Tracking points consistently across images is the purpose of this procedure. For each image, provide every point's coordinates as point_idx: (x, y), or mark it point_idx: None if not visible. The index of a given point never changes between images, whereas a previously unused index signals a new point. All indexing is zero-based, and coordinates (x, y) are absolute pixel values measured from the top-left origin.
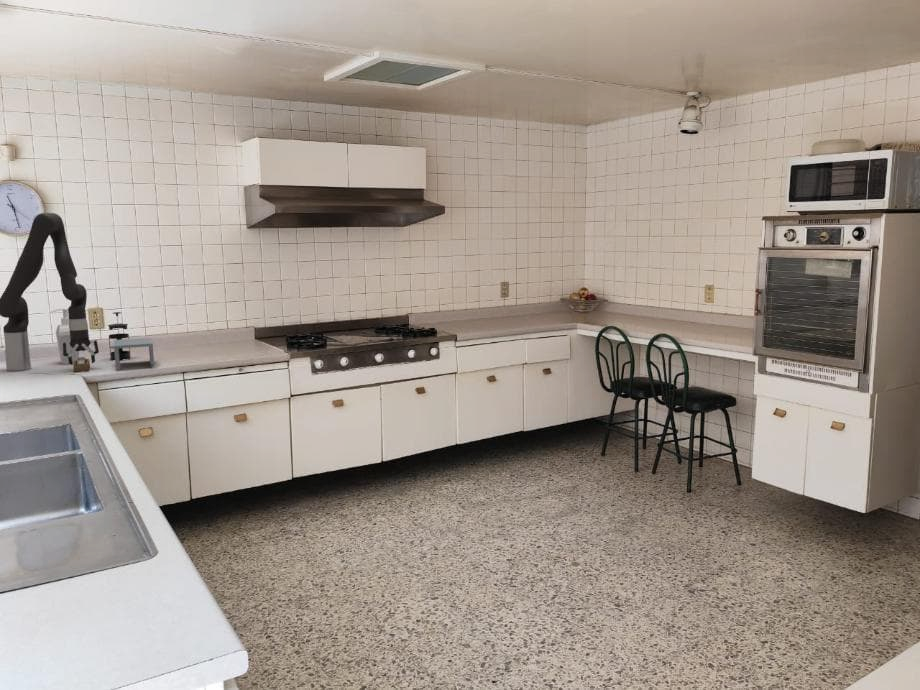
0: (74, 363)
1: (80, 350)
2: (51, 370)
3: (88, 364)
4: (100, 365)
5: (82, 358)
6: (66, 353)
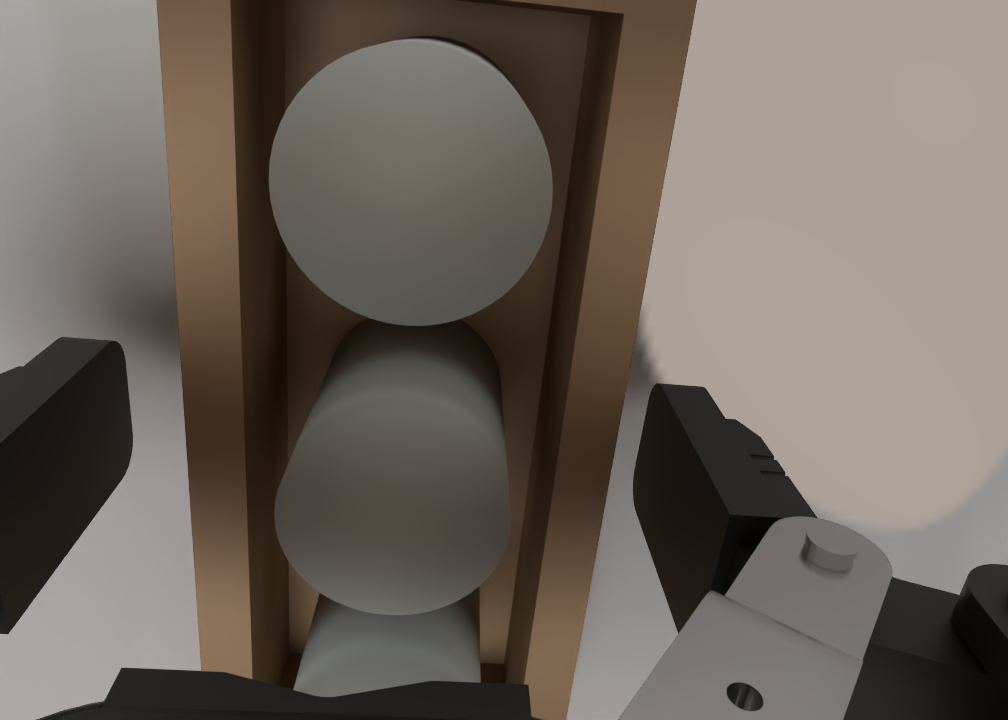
0: (627, 220)
1: (340, 709)
2: (998, 549)
3: (177, 16)
4: (50, 630)
5: (353, 561)
6: (974, 677)
